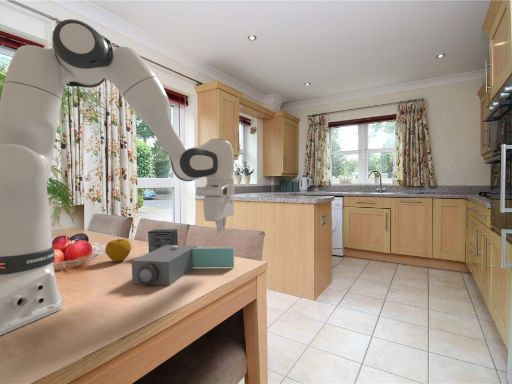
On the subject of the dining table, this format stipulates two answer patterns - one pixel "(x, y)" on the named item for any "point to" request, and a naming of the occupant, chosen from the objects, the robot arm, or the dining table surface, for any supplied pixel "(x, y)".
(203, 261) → the side door
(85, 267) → the dining table surface
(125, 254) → the apple
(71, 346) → the dining table surface
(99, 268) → the dining table surface
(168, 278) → the block
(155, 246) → the small box
